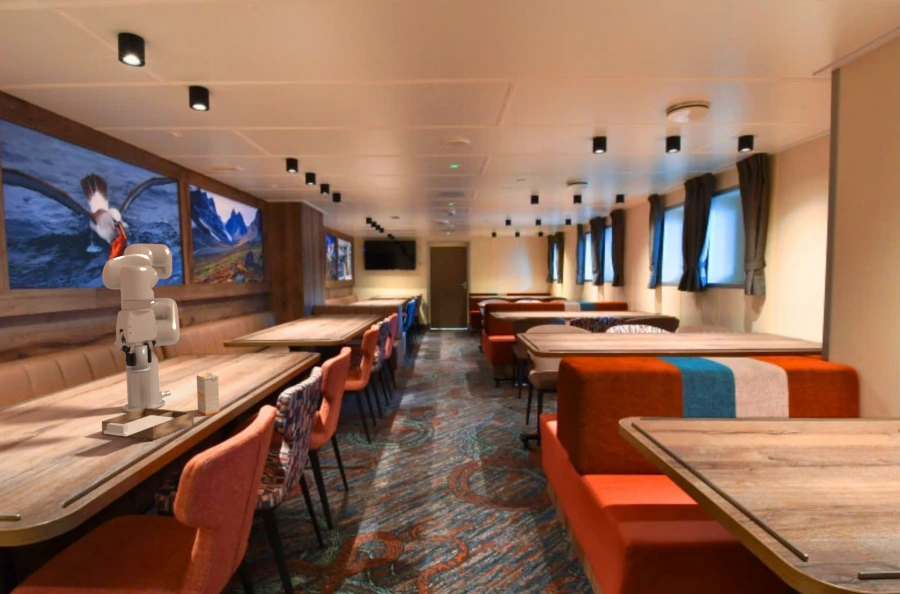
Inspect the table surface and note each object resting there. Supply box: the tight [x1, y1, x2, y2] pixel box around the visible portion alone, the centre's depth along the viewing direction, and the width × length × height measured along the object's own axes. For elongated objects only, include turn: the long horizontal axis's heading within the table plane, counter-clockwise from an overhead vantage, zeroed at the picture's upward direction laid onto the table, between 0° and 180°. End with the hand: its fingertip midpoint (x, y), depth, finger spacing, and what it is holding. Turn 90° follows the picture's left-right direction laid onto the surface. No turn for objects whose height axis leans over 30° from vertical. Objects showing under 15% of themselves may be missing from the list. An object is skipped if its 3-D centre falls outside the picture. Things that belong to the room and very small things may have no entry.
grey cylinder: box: [124, 345, 151, 374], centre depth 135 cm, size 6×7×8 cm
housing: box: [101, 408, 195, 441], centre depth 135 cm, size 14×20×4 cm
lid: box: [103, 415, 171, 437], centre depth 126 cm, size 14×8×3 cm, turn 164°
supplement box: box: [196, 372, 220, 416], centre depth 152 cm, size 8×5×13 cm, turn 47°
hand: (139, 363), depth 135 cm, fingers closed on grey cylinder, 4 cm apart
